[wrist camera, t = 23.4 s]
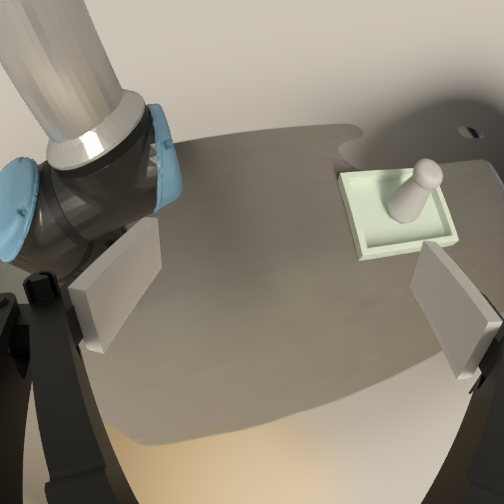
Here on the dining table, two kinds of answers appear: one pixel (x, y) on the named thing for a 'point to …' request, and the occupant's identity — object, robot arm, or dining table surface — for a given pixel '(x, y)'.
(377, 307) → the dining table surface
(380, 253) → the tray
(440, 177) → the salt shaker
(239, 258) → the dining table surface
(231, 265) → the dining table surface
